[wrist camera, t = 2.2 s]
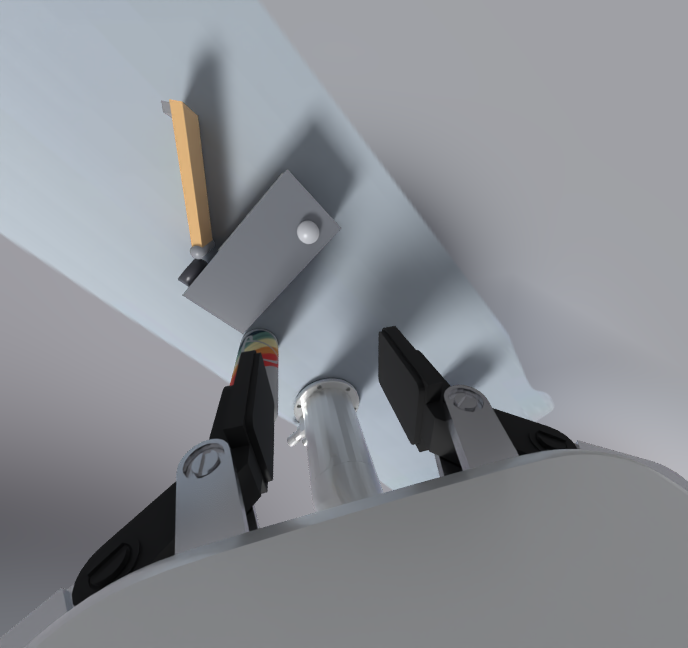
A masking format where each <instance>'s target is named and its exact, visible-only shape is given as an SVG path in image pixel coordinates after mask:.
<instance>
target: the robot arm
mask: <svg viewBox="0 0 688 648" xmlns="http://www.w3.org/2000/svg"><path fill="white" fill-rule="evenodd" d="M378 377H379V383H380V385H381V387H382V389H383V391H384V393H385V395H386V397H387V399H388V401H389V403H390V404H391V406H392V408H393V410H394V412H395V414H396V416H397V418H398V420H399V422H400V424H401V426H402V428H403V430H404V431H405V433H406V435H407V437H408V439H409V441H410V443H411V444H412V445H414V444H416V446H417V448H418V450H419V452H422V451H426V450H429V452H432V453H434V454H435V459H436V463H437V467H438V471H439V475H440V477H439V478H435V479H432V480H428V481H425V482H421V483H417V484H414V485H410V486H407V487H403V488H400V489H396V490H393V491H389V492H386V493H383V490H382V487H381V485H380V482H379V479H378V476H377V473H376V470H375V467H374V464H373V461H372V458H371V456H370V453H369V450H368V447H367V444H366V441H365V438H364V435H363V432H362V429H361V426H360V424H359V421H358V418H357V415H356V412H357V409H358V407H359V396H358V393H357V391H356V389H355V388H354V387H353V385H351V384H350V383H349V382H346V381H344V380H341V379H334V378H330V379H323V380H319V381H316V382H314V383H312V384H310V385H308V386H307V387H305V388H304V389H303V390H302V391H301V392H300V393H299V394H298V396H297V398H296V400H295V403H294V414H295V417H296V419H297V421H298V422H299V423H300V425H299V426H298V427H297V431H296V432H294V433H293V434H292V435H290V437H288V438H287V443H288V444H289V445H290V446H291V447H293V446H294V445H296V444H297V443H298V442H299V441H300V440H301V439H302V438H305V439H303V440H302V442H303V445H305V446H306V447H307V456H308V466H309V475H310V485H311V495H312V502H313V506H314V509H315V513H312V514H309V515H305V516H302V517H299V518H295V519H291V520H288V521H284V522H281V523H277V524H275V525H270V526H267V527H264V528H260V527H259V523H258V519H257V514H256V510H255V506H254V504H255V503H256V501H257V500H258V499H259V498H260V497H261V494H262V493H265V492H267V488H268V486H267V485H268V482H269V481H272V480H273V455H274V408H275V407H274V399H273V395H272V391H271V387H270V384H269V380H268V376H267V372H266V369H265V365H264V361H263V357H262V354H261V352H260V353H257V352H256V350H252V351H246V352H241V355H240V359H239V363H238V367H237V372H236V376H235V380H234V385H231V386H226V387H224V389H223V392H222V395H221V399H220V402H219V406H218V410H217V413H216V417H215V420H214V424H213V428H212V431H211V434H210V439H209V440H207V441H203V442H201V443H200V444H198V445H196V446H194V447H193V448H192V449H191V450H189V451H188V452H187V453H186V454H185V456H184V457H183V458H182V460H181V461H180V463H179V465H178V468H177V476H176V478H177V479H176V482H175V483H174V484H172V485H171V486H170V487H169V488H168V489H167V490H166V491H164V492H163V493H162V494H161V495H160V496H159V497H158V498H157V499H155V500H154V501H153V502H152V503H151V504H150V505H148V506H147V507H146V508H145V509H144V510H143V511H142V512H140V513H139V514H138V515H137V516H136V517H135V518H134V519H133V520H131V521H130V522H129V523H128V524H127V525H126V526H124V527H123V528H122V529H121V530H120V531H119V532H117V533H116V534H115V535H114V536H113V537H112V538H111V539H109V540H108V541H107V542H106V543H105V544H104V545H103V546H102V547H100V549H99V550H97V551H96V553H94V554H93V555H92V557H91V558H90V559H89V560H88V562H87V563H86V564H85V566H84V567H83V568H82V570H81V571H80V573H79V575H78V577H77V579H76V581H75V583H74V584H73V585H72V586H71V587H70V588H68V589H67V590H65V589H64V588H61V589H59V590H58V591H57V592H56V593H55V594H53V595H52V596H51V597H50V598H48V599H47V600H46V601H45V602H44V603H42V604H41V605H40V606H39V607H38V608H36V609H35V610H34V611H33V612H31V613H30V614H29V615H28V616H26V617H25V618H24V619H23V620H21V621H20V622H19V623H18V624H17V625H15V626H14V627H13V628H12V629H10V630H9V631H8V632H7V633H6V634H4V635H3V636H2V637H1V638H0V648H688V481H686V480H685V479H684V478H683V477H681V476H680V475H679V474H678V473H676V472H674V471H673V470H671V469H669V468H667V467H665V466H663V465H661V464H658V463H655V462H653V461H649V460H646V459H642V458H639V457H635V456H631V455H628V454H624V453H621V452H617V451H614V450H610V449H607V448H603V447H599V446H595V445H592V444H588V443H585V442H581V441H577V442H576V444H575V443H573V442H572V441H571V440H570V439H569V438H568V437H567V436H566V435H564V434H563V433H561V432H559V431H558V430H555V429H553V428H551V427H548V426H545V425H542V424H539V423H536V422H533V421H530V420H527V419H524V418H521V417H518V416H515V415H512V414H509V413H506V412H503V411H500V410H497V409H494V408H492V407H491V405H490V403H489V401H488V400H487V398H486V397H485V396H484V395H483V394H482V393H481V392H480V391H478V390H476V389H474V388H472V387H469V386H465V385H454V386H450V385H449V384H448V383H447V381H446V380H445V379H444V378H443V377H442V376H441V375H440V373H439V372H438V371H437V370H436V369H435V368H434V367H433V365H432V364H431V363H430V362H429V361H428V360H427V359H426V357H425V356H424V355H423V354H422V353H421V352H420V351H419V350H415V348H414V347H413V346H412V345H411V344H410V343H409V341H408V340H407V339H406V338H405V337H404V336H403V334H402V333H401V332H400V331H399V330H398V328H397V327H396V326H392V327H386V328H383V329H382V331H381V332H379V371H378Z"/></svg>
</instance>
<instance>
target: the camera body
mask: <svg viewBox="0 0 688 648" xmlns="http://www.w3.org/2000/svg"><path fill="white" fill-rule="evenodd" d="M340 229H341V227H340V226H339V225H338V224H337V223H336V222H335V221H334V220H333V218H332V217H331V216H330V215H329V214H328V213H327V212H326V211H325V210H324V209H323V208H322V206H321V205H320V204H319V203H318V202H317V201H316V200H315V199H314V198H313V197H312V195H311V194H310V193H309V192H308V191H307V190H306V189H305V188H304V187H303V186H302V184H301V183H300V182H299V181H298V180H297V179H296V178H295V177H294V176H293V175H292V173H291V172H290V171H289V170H288V169H287V170H286V171H285V173H282V174H281V175H280V176H279V178H278V179H277V180H276V181H275V182H274V184H273V185H272V186H271V187H270V188H269V190H268V191H267V192H266V193H265V194H264V196H263V197H262V198H261V199H260V200H259V202H258V203H257V204H256V205H255V206H254V208H253V209H252V210H251V211H250V212H249V214H248V215H247V216H246V217H245V218H244V220H243V221H242V222H241V223H240V224H239V226H238V227H237V228H236V229H235V230H234V232H233V233H232V234H231V235H230V236H229V238H228V239H227V240H226V241H225V242H224V244H223V245H222V246H221V247H220V248H219V250H218V251H219V252H218V253H217V254H216V255H215V256H214V258H213V259H212V260H211V261H210V262H209V264H208V263H207V262H205V261H204V260H203V259H196V258H195V259H194V260H193V261H192V262H191V264H190V265H189V266H188V267H187V268H186V269H185V270H184V272H183V273H182V274H181V275H180V277H179V278H178V280H179V281H181V282H182V283H184V284H185V285H187V286H188V287H189V288H188V289H187V290H186V291H185V292H184V294H183V296H184V297H186V298H187V299H189V300H191V301H192V302H194V303H195V304H197V305H198V306H200V307H202V308H203V309H205V310H206V311H208V312H209V313H211V314H212V315H214V316H216V317H217V318H219V319H220V320H222V321H223V322H225V323H227V324H228V325H230V326H231V327H233V328H234V329H236V330H238V331H239V332H241V333H242V334H243V333H244V332H245V331H246V330H247V329H248V328H249V327H250V326H251V325H252V324H253V322H254V321H255V320H256V319H257V318H258V317H259V316H260V315H261V314H262V313H263V312H264V311H265V310H266V309H267V307H268V306H269V305H270V304H271V303H272V302H273V301H274V300H275V299H276V298H277V297H278V296H279V295H280V294H281V292H282V291H283V290H284V289H285V288H286V287H287V286H288V285H289V284H290V283H291V282H292V281H293V280H294V279H295V277H296V276H297V275H298V274H299V273H300V272H301V271H302V270H303V269H304V268H305V267H306V266H307V265H308V263H309V262H310V261H311V260H312V259H313V258H314V257H315V256H316V255H317V254H318V253H319V252H320V251H321V250H322V248H323V247H324V246H325V245H326V244H327V243H328V242H329V241H330V240H331V239H332V238H333V237H334V236H335V235H336V233H337V232H338V231H339V230H340Z"/></svg>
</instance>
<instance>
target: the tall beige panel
mask: <svg viewBox="0 0 688 648" xmlns="http://www.w3.org/2000/svg"><path fill="white" fill-rule="evenodd" d="M169 101H170V102H166V101H161V103H162V109H163V112H164V113H165V114H167V115H168V116H170V117H171V118H172V121H173V127H174V134H175V140H176V147H177V153H178V160H179V166H180V173H181V179H182V186H183V192H184V199H185V205H186V212H187V218H188V224H189V231H190V237H191V244H192V248H191V249H190V253H191V255H192V256H193V257H194V258H196V259H201V258H203V257H204V256H205V255H206V254H207V253H209V252H210V251H211V250H212V249H213V248H214V246H215V243H214V241H213V240H212V231H211V223H210V214H209V206H208V197H207V189H206V180H205V172H204V163H203V155H202V146H201V138H200V129H199V121H198V116H197V115H196V114H195V113H194V112H193V111H192V110H191V109H190V108H189V107H187V106H186V105H185V104H184V103H183V102H181V101H176V100H170V99H169Z"/></svg>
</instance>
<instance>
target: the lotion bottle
mask: <svg viewBox="0 0 688 648" xmlns="http://www.w3.org/2000/svg"><path fill="white" fill-rule="evenodd" d="M252 350H256V352H257V353H260V352H261V354H262V357H263V361H264V365H265V369H266V372H267V376H268V380H269V384H270V387H271V391H272V395H273V399H274V407H275V408H274V422H275V421H276V418H277V415H278V341H277V339H276V337H275V336H274V334H272V333H271V332H269V331H267V330H264V329H255V330H252V331H249V332H248V333H246V334H245V335H244V337H243V338H242V340H241V343H240V347H239V351H238V355H237V359H236V363H235V367H234V371H233V375H232V379H231V383H230V386H231V385H234V380H235V376H236V372H237V367H238V363H239V359H240V355H241V352H246V351H252Z"/></svg>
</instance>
